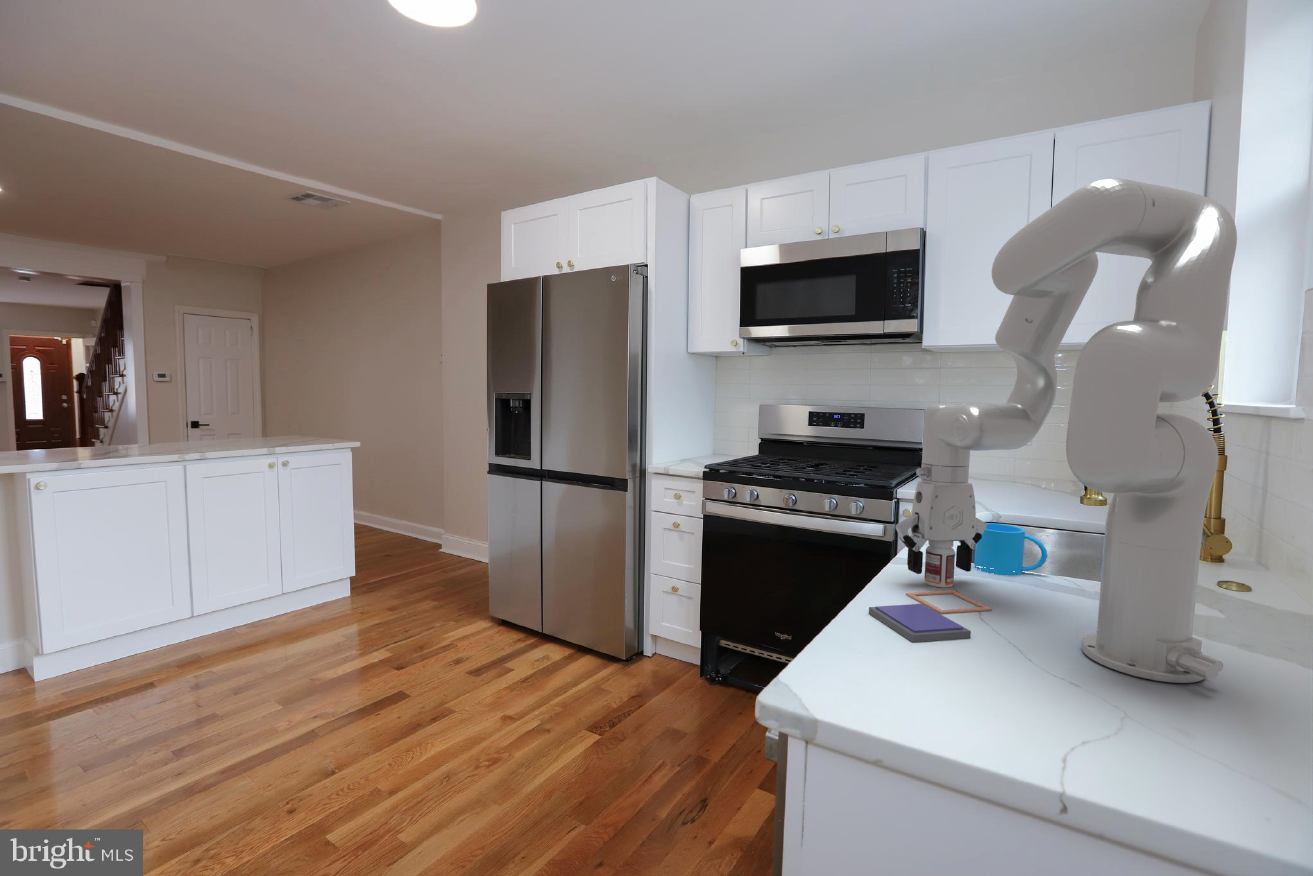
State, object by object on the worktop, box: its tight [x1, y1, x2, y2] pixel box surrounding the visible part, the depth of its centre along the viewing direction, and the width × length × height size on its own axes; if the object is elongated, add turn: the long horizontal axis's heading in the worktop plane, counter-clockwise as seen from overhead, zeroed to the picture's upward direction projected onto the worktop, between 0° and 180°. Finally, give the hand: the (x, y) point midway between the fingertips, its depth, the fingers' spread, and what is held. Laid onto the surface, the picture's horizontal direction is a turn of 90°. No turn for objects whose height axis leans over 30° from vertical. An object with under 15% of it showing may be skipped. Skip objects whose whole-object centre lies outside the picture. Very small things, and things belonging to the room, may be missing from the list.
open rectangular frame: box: [905, 589, 993, 615], centre depth 102 cm, size 9×9×1 cm
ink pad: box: [868, 603, 972, 643], centre depth 91 cm, size 11×9×1 cm
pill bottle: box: [924, 540, 956, 589], centre depth 111 cm, size 5×5×8 cm
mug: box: [973, 522, 1048, 577], centre depth 120 cm, size 12×8×8 cm
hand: (939, 570), depth 111 cm, fingers open, 9 cm apart
